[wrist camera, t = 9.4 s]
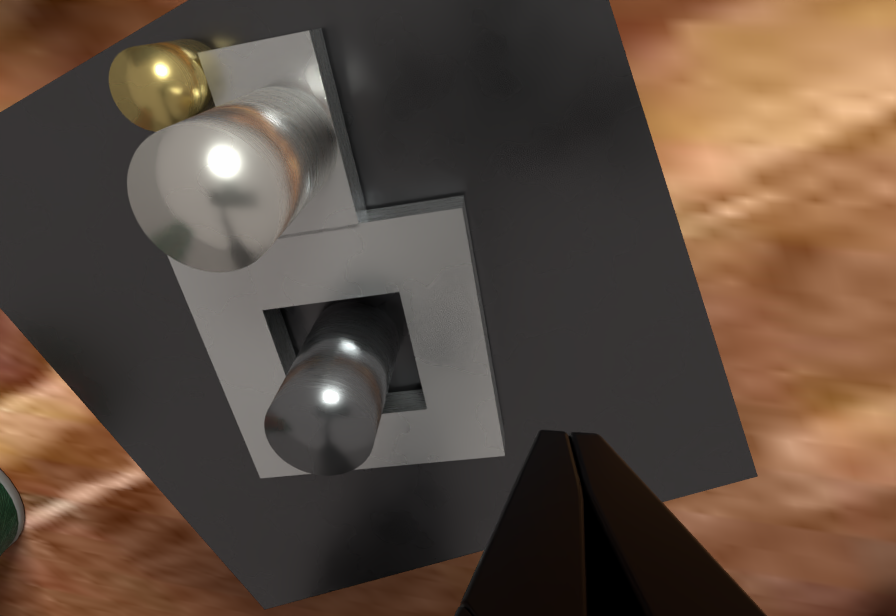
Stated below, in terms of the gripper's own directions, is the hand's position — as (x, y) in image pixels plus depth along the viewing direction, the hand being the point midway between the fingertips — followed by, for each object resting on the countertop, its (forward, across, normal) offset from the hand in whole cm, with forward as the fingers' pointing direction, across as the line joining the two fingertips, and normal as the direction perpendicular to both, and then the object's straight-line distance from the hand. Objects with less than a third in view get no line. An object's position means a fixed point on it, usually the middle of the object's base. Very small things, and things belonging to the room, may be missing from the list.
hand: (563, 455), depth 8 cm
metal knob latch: (+11, +6, +3) cm, 13 cm away
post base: (+12, +5, +5) cm, 14 cm away
